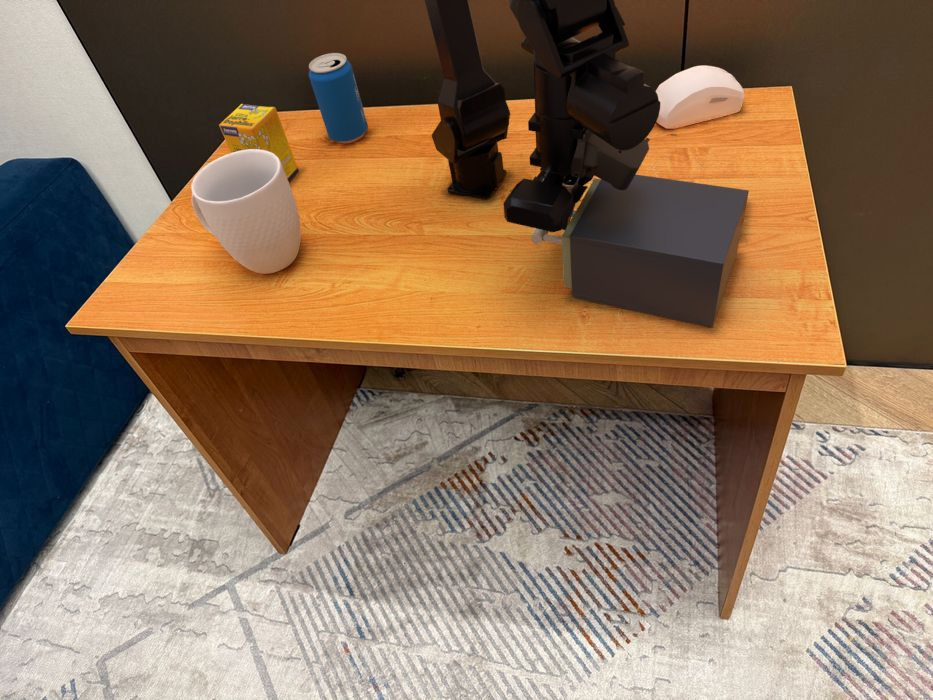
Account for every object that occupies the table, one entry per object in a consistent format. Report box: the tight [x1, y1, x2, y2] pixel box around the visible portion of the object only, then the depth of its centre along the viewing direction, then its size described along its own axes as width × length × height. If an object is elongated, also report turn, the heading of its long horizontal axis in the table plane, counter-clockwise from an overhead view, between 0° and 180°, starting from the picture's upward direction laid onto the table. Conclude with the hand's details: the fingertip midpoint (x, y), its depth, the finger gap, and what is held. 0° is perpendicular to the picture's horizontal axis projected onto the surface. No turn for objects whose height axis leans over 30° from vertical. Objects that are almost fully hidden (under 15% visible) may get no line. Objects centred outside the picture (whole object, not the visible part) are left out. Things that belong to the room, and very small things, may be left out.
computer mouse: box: [655, 65, 745, 130], centre depth 99 cm, size 6×13×6 cm, turn 102°
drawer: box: [530, 178, 601, 289], centre depth 78 cm, size 19×11×7 cm, turn 64°
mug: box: [190, 149, 302, 275], centre depth 88 cm, size 15×11×13 cm
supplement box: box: [218, 103, 300, 183], centre depth 101 cm, size 6×6×11 cm
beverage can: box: [308, 52, 369, 144], centre depth 106 cm, size 6×6×12 cm
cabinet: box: [570, 173, 750, 329], centre depth 76 cm, size 16×12×9 cm
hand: (563, 227), depth 80 cm, fingers closed, pressing on drawer
